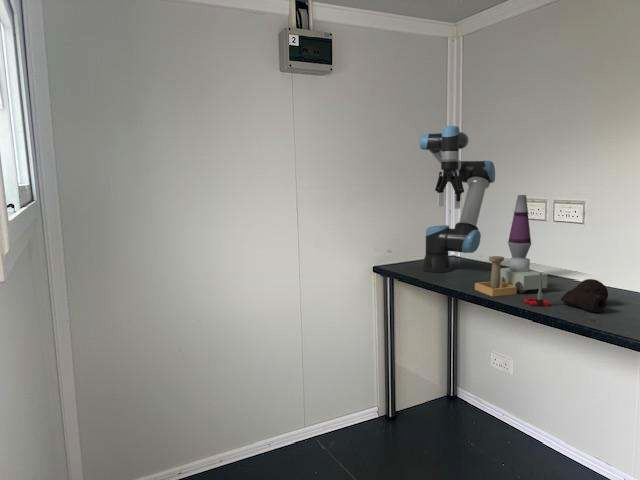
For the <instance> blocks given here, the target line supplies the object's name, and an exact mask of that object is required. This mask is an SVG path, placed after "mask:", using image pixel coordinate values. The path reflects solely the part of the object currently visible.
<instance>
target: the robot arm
mask: <svg viewBox="0 0 640 480" xmlns="http://www.w3.org/2000/svg"><path fill="white" fill-rule="evenodd" d="M418 143H419V148H420V149H421V150H424V151H429V152H430V153H431V155H432V156H433V157H434V158H435V159H436V160H437V161H438V162H439V164H440V166H441V167H440V170H442V171H439V172H438V179H437V182H436V185H435V189H434V191H435V192H436V193H437V208H438V207H440V208H442V207H445V203H444V202H445V197H444V196H445V191H444V190H445V189H446V186H447V184H448V183H450V184H451V185H452V188H453V190H454V195H453V210H454V209H455V210H456V209H457V210H458V209H461V199H462V198H461V197H462V196H461V195H462V193H463V194H464V193H465V189H464V185H463V184H464V183H465V184H467V186H468V188H467V191H466V196H465V199H464V203H463V207H462V210H461V215H460V218H459V221H458V222H456V223H455V226H454V228H450V225H447V224H446V225H445V224H444V225H434V226H428V227H427V228H426V232H425V256H424V259H423V260H422V263H421V270H423V271H424V272H429V273H448V272H451V271H452V264H451V260H450V257H449V252H454V253H455V252H456V253H464V254H468V253H469V254H473V253H475V252H476V251H477V250H478V248H479V246H480V243H481V237H482V236H481V235H482V234H481V231H480V230H479V228H478V226H477V225H478V222H479V221H478V219H479V217H480V211H481V208H482V204H483V199H484V196H485V191H486V189H488V188H489V187H490V185H491V184H494V183H495V180H496V168H495V164H494V162H493V161H492V160H460V158H459V155H460V153H459V150H462V149H464V148H466V147H467V146H468V143H469V137H468V135H467V134H466V133H464V132H461V131H460V127H459V126H458V125H447V126H443V128H442V131H441V133H440V132H439V133H425V134H422V135H421V136H420V137H419V141H418Z"/></svg>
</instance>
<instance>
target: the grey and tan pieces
mask: <svg viewBox="0 0 640 480" xmlns="http://www.w3.org/2000/svg"><path fill="white" fill-rule="evenodd" d="M530 262H531V259H529V258H527V257H526V258H520V257H514V258H512V257H510V259H509V267H500V276H501V279H500V287H499V288H495V289H493V288H491V280H490V281H480V282H475V283H474V291H477V292H479V293H482V294H485V295H487V296H490V297H498V296H499V297H501V296H510V295H517V294H526V293H527V291H529V290H535V291H537V292H538V289H539V278H540V273H542V292H545V291H546V290H547V288H548V275H549V274H548V273H546V272H541V271H537V270H535V269H531V268H530V264H531V263H530Z"/></svg>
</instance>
